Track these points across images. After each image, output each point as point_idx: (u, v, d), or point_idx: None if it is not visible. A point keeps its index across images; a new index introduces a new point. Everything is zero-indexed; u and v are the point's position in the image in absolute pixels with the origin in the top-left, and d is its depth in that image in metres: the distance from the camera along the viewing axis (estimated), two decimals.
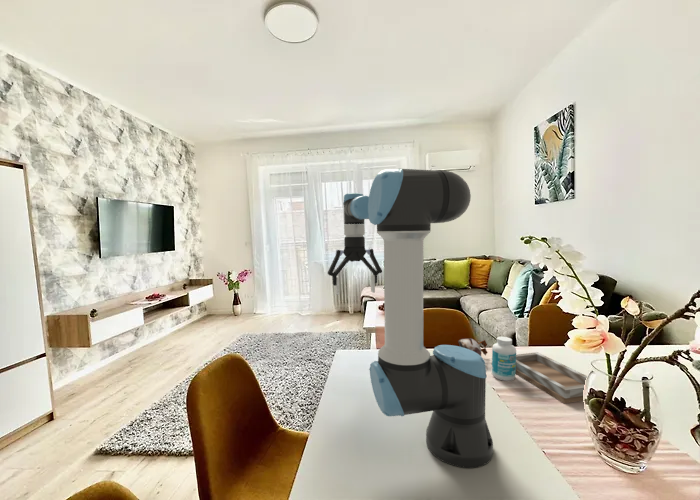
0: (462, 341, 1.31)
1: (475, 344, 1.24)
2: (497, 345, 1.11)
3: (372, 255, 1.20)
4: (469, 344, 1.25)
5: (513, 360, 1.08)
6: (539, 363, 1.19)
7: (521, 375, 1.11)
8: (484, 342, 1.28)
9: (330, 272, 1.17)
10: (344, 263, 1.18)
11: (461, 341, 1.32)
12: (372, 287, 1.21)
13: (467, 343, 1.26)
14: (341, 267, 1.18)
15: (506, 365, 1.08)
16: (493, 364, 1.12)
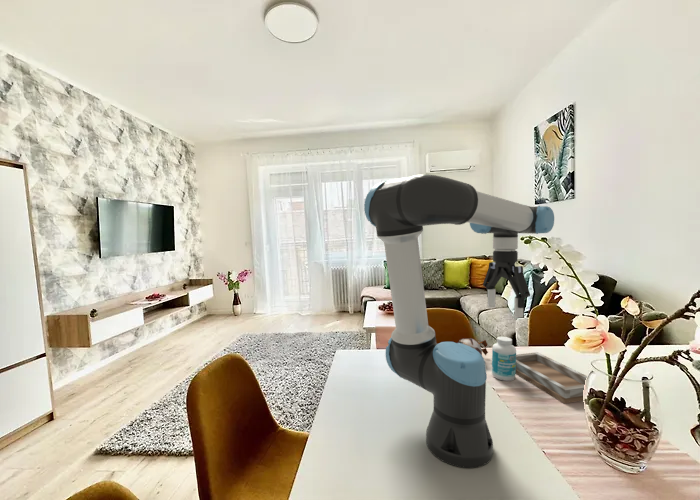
0: (462, 341, 1.31)
1: (476, 344, 1.24)
2: (497, 345, 1.11)
3: (515, 274, 1.03)
4: (470, 344, 1.25)
5: (513, 360, 1.08)
6: (539, 363, 1.19)
7: (521, 375, 1.11)
8: (484, 342, 1.28)
9: (484, 283, 1.19)
10: (493, 277, 1.14)
11: (461, 341, 1.32)
12: None
13: (468, 343, 1.26)
14: (491, 280, 1.15)
15: (506, 365, 1.08)
16: (493, 364, 1.12)
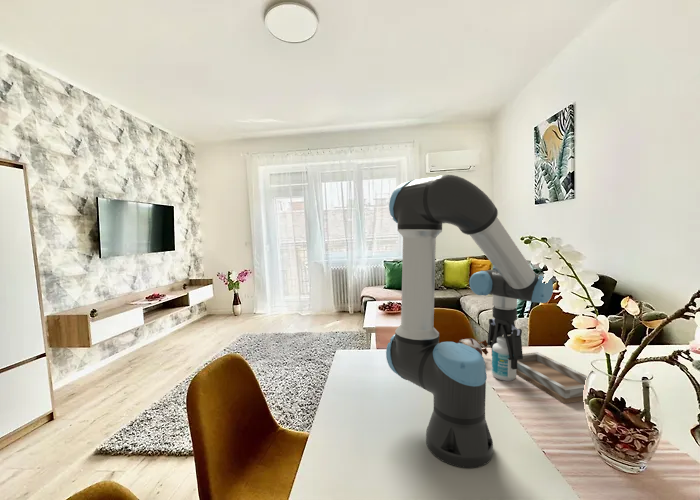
0: (463, 341, 1.31)
1: (476, 344, 1.24)
2: (497, 345, 1.11)
3: (513, 336, 1.05)
4: (470, 344, 1.25)
5: None
6: (539, 363, 1.19)
7: (521, 375, 1.11)
8: (485, 342, 1.28)
9: (488, 342, 1.18)
10: (495, 334, 1.14)
11: (462, 341, 1.32)
12: None
13: (468, 343, 1.26)
14: (494, 339, 1.14)
15: (506, 365, 1.08)
16: (493, 364, 1.12)
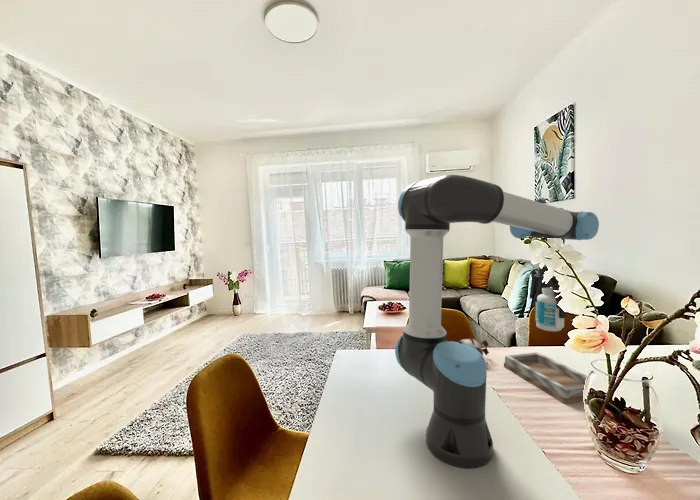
0: (463, 341, 1.31)
1: (477, 344, 1.24)
2: (543, 295, 1.07)
3: None
4: (471, 344, 1.25)
5: None
6: (539, 363, 1.19)
7: (521, 375, 1.11)
8: (485, 342, 1.28)
9: (530, 295, 1.14)
10: (539, 286, 1.10)
11: (462, 341, 1.32)
12: None
13: (468, 343, 1.26)
14: (538, 290, 1.10)
15: (554, 314, 1.04)
16: (538, 315, 1.07)
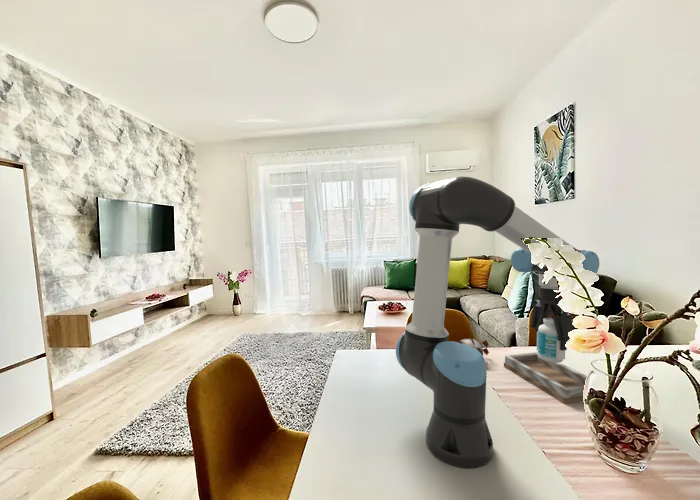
0: (463, 341, 1.31)
1: (477, 344, 1.24)
2: (544, 326, 1.07)
3: (563, 316, 1.01)
4: (471, 344, 1.25)
5: None
6: (539, 363, 1.19)
7: (521, 375, 1.11)
8: (485, 342, 1.28)
9: (532, 324, 1.14)
10: (541, 316, 1.10)
11: (462, 341, 1.32)
12: None
13: (469, 343, 1.26)
14: (539, 320, 1.11)
15: (555, 346, 1.05)
16: (540, 346, 1.08)
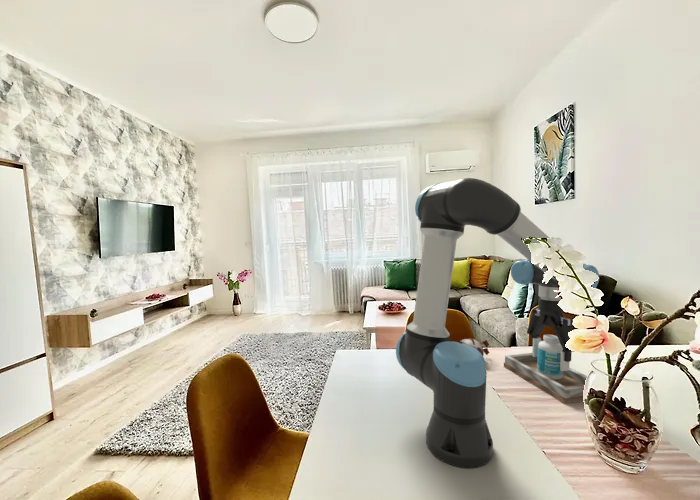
0: (464, 341, 1.31)
1: (477, 344, 1.24)
2: (544, 343, 1.08)
3: (564, 327, 1.01)
4: (472, 344, 1.25)
5: None
6: None
7: (521, 375, 1.11)
8: (486, 342, 1.28)
9: (528, 331, 1.16)
10: (538, 325, 1.11)
11: (463, 341, 1.32)
12: None
13: (469, 343, 1.26)
14: (536, 329, 1.12)
15: (554, 363, 1.05)
16: (539, 362, 1.08)
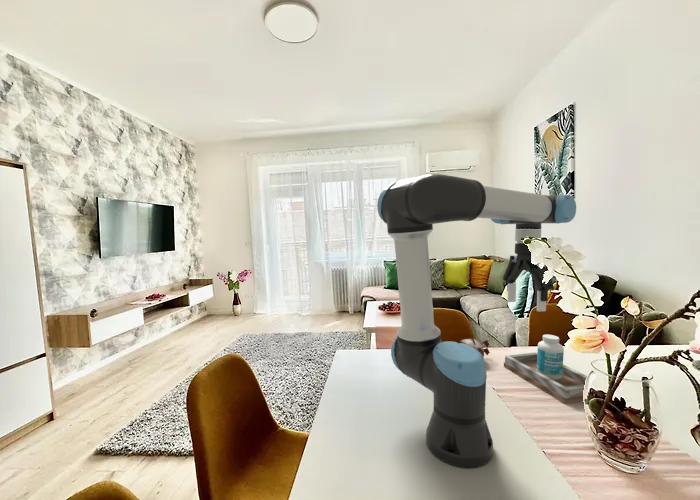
0: (464, 341, 1.31)
1: (478, 344, 1.24)
2: (543, 343, 1.08)
3: None
4: (472, 344, 1.25)
5: (561, 359, 1.05)
6: None
7: (521, 375, 1.11)
8: (486, 342, 1.28)
9: (504, 277, 1.16)
10: (514, 270, 1.11)
11: (463, 341, 1.31)
12: None
13: (470, 343, 1.26)
14: (512, 274, 1.12)
15: (554, 364, 1.05)
16: (539, 363, 1.08)
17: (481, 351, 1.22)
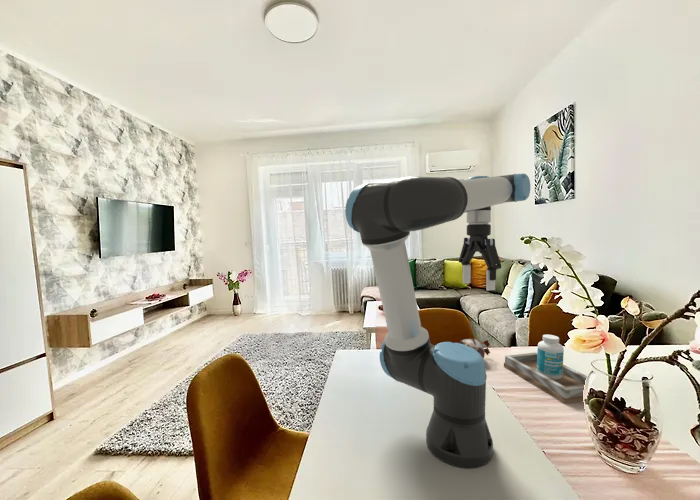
0: (464, 341, 1.31)
1: (478, 344, 1.24)
2: (543, 343, 1.08)
3: (487, 246, 1.02)
4: (473, 344, 1.25)
5: (561, 359, 1.05)
6: None
7: (521, 375, 1.11)
8: (487, 342, 1.28)
9: (459, 259, 1.18)
10: (468, 252, 1.13)
11: (463, 341, 1.31)
12: None
13: (470, 343, 1.26)
14: (466, 256, 1.14)
15: (554, 363, 1.05)
16: (539, 363, 1.08)
17: (482, 351, 1.22)
